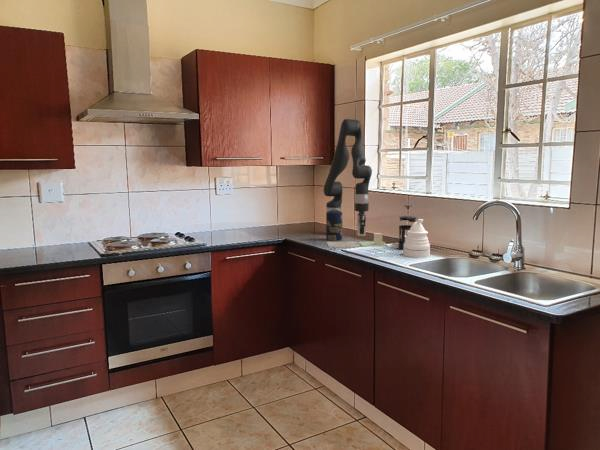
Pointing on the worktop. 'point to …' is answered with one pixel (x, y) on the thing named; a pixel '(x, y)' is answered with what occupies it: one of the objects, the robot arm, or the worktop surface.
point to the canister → (334, 225)
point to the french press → (404, 228)
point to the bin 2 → (371, 244)
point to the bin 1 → (343, 244)
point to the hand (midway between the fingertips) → (361, 233)
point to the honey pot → (417, 241)
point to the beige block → (359, 230)
